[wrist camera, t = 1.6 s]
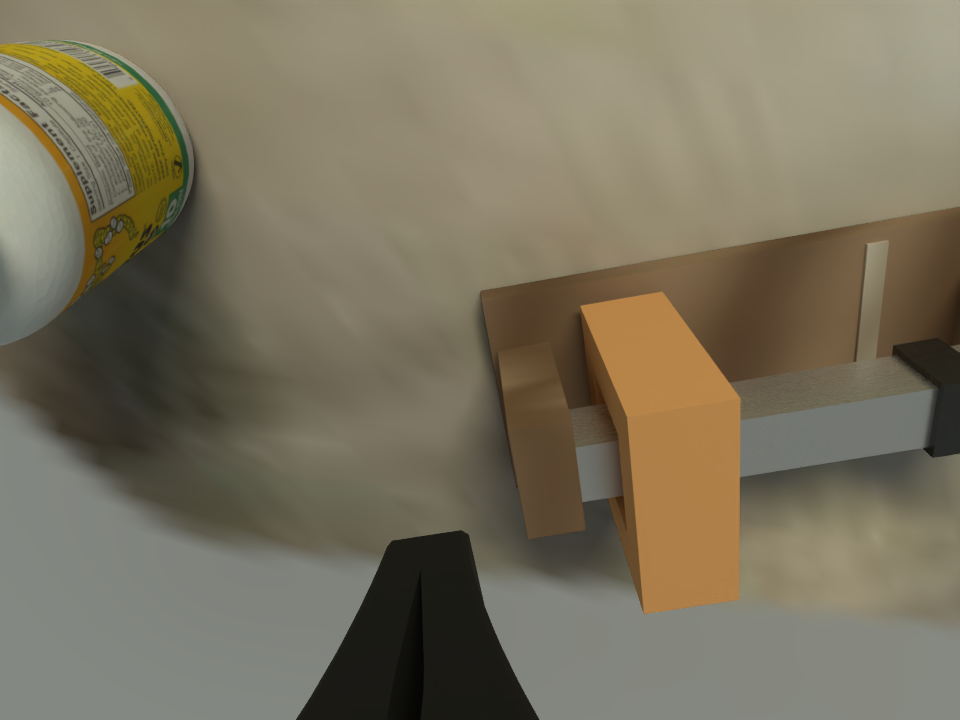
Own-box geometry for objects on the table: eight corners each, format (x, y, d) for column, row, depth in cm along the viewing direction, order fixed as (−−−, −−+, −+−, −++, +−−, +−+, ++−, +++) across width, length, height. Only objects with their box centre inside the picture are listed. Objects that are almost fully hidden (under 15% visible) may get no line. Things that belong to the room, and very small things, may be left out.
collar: (662, 291, 20) (740, 398, 14) (671, 458, 22) (738, 599, 17) (579, 305, 20) (627, 417, 14) (598, 469, 22) (643, 614, 17)
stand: (1018, 196, 20) (1188, 254, 15) (977, 398, 23) (1108, 495, 19) (480, 291, 21) (488, 373, 16) (514, 473, 24) (529, 584, 19)
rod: (1077, 314, 18) (1152, 351, 16) (1059, 384, 19) (1127, 426, 17) (506, 409, 19) (512, 456, 17) (517, 472, 20) (524, 522, 18)
